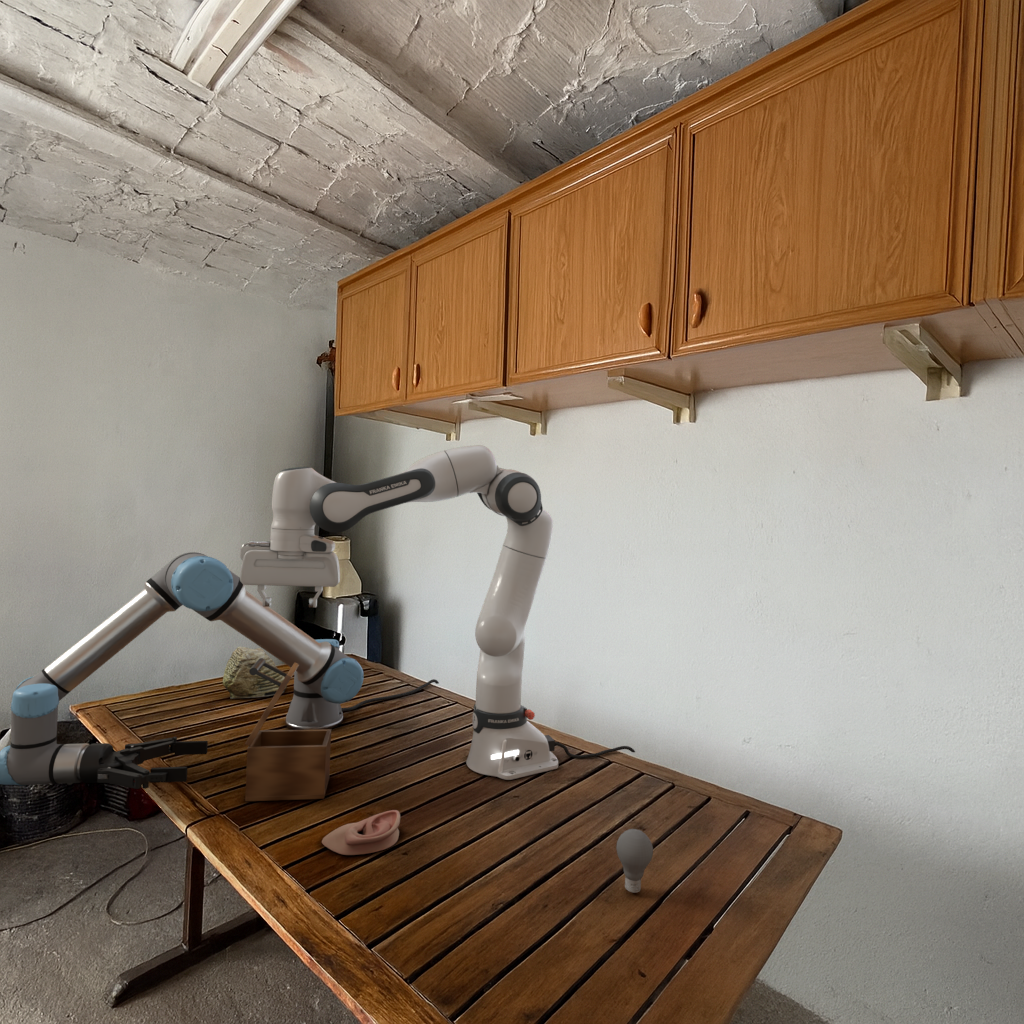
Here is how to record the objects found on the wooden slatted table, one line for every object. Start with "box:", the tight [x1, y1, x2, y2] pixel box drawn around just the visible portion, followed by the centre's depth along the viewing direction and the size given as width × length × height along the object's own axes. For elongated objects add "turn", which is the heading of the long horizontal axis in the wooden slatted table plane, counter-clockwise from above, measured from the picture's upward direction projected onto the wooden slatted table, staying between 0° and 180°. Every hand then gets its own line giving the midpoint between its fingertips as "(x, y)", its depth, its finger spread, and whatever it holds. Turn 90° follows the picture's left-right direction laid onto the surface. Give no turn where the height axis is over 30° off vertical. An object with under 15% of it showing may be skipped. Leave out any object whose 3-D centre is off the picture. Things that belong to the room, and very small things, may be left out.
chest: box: [244, 729, 332, 802], centre depth 136 cm, size 16×10×11 cm, turn 100°
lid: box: [244, 658, 299, 747], centre depth 135 cm, size 16×10×8 cm
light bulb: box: [615, 828, 654, 894], centre depth 106 cm, size 6×6×10 cm
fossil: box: [222, 646, 288, 699], centre depth 198 cm, size 9×18×15 cm, turn 132°
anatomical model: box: [321, 809, 401, 856], centre depth 118 cm, size 13×4×12 cm
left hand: (197, 760), depth 133 cm, fingers open, 13 cm apart
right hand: (289, 606), depth 136 cm, fingers open, 8 cm apart
